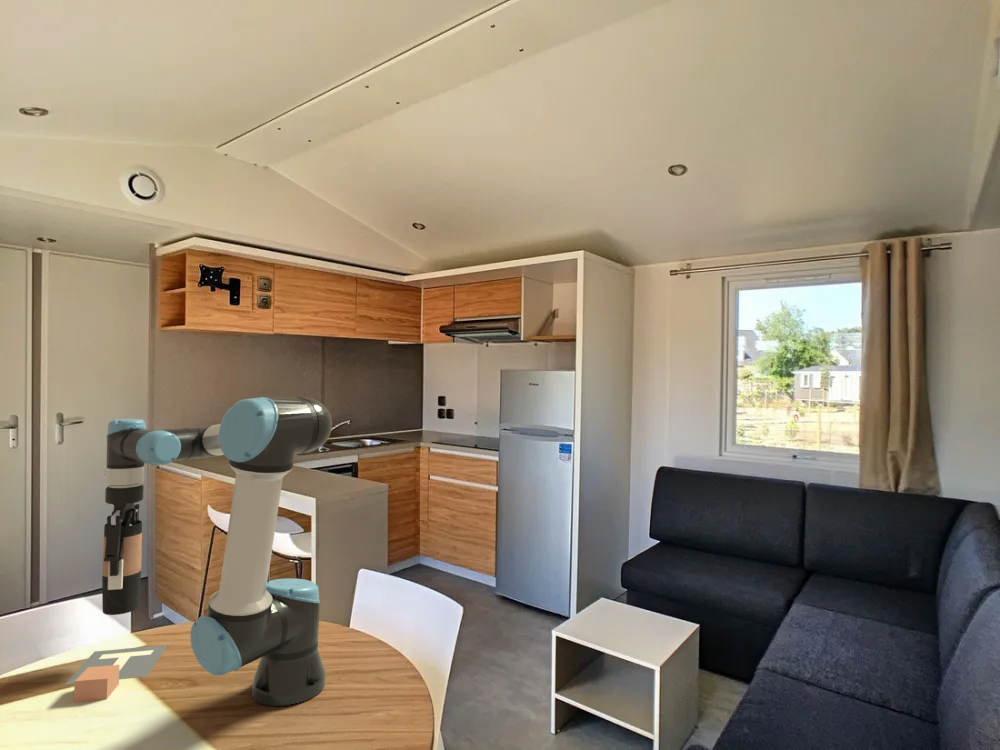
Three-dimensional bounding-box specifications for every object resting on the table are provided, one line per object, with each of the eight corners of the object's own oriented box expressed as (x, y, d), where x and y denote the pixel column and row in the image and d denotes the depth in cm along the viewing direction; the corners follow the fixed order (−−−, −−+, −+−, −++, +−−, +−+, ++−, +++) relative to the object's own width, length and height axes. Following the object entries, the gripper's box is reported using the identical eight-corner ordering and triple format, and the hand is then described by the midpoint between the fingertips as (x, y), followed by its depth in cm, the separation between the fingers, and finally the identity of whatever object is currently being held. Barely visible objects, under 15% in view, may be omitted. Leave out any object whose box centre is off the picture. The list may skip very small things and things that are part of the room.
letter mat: (146, 679, 130) (147, 676, 130) (63, 687, 126) (64, 684, 126) (167, 647, 145) (167, 644, 145) (94, 653, 141) (94, 651, 141)
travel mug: (108, 618, 130) (111, 529, 131) (95, 609, 135) (98, 523, 135) (145, 608, 137) (148, 523, 137) (132, 600, 141) (134, 517, 141)
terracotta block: (106, 702, 121) (107, 678, 121) (73, 705, 119) (74, 681, 119) (118, 687, 126) (119, 664, 126) (87, 690, 125) (88, 667, 125)
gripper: (122, 478, 145) (119, 569, 145) (88, 493, 125) (84, 600, 125) (156, 477, 147) (153, 568, 147) (127, 492, 127) (124, 597, 127)
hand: (121, 582), depth 136 cm, fingers closed on travel mug, 8 cm apart
